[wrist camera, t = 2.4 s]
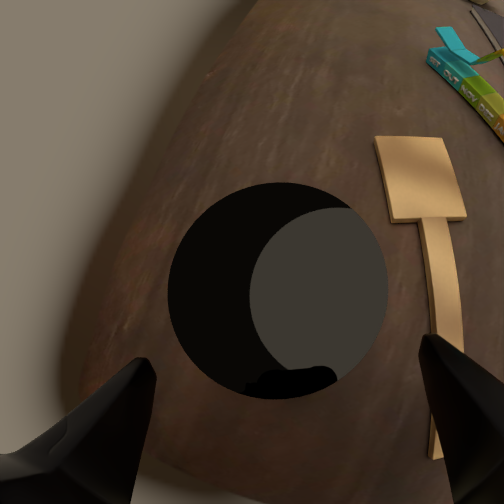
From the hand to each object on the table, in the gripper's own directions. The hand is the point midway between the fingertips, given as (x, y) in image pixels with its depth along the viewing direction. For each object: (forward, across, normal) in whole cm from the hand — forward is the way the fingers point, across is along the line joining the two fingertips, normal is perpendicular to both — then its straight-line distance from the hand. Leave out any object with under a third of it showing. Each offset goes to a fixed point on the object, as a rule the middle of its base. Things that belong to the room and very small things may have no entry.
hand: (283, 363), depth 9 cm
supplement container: (+8, 0, +5) cm, 10 cm away
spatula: (+9, -10, +4) cm, 14 cm away
